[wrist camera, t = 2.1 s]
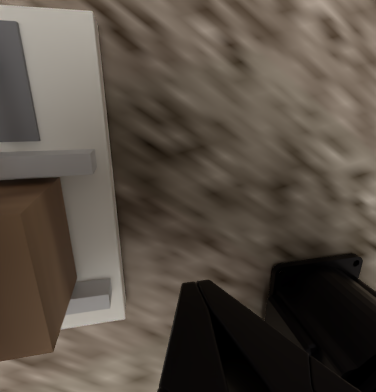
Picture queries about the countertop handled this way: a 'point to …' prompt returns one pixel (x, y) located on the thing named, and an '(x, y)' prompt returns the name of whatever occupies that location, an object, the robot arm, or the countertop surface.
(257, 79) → the countertop surface
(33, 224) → the slider
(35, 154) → the gauge base
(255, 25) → the countertop surface
